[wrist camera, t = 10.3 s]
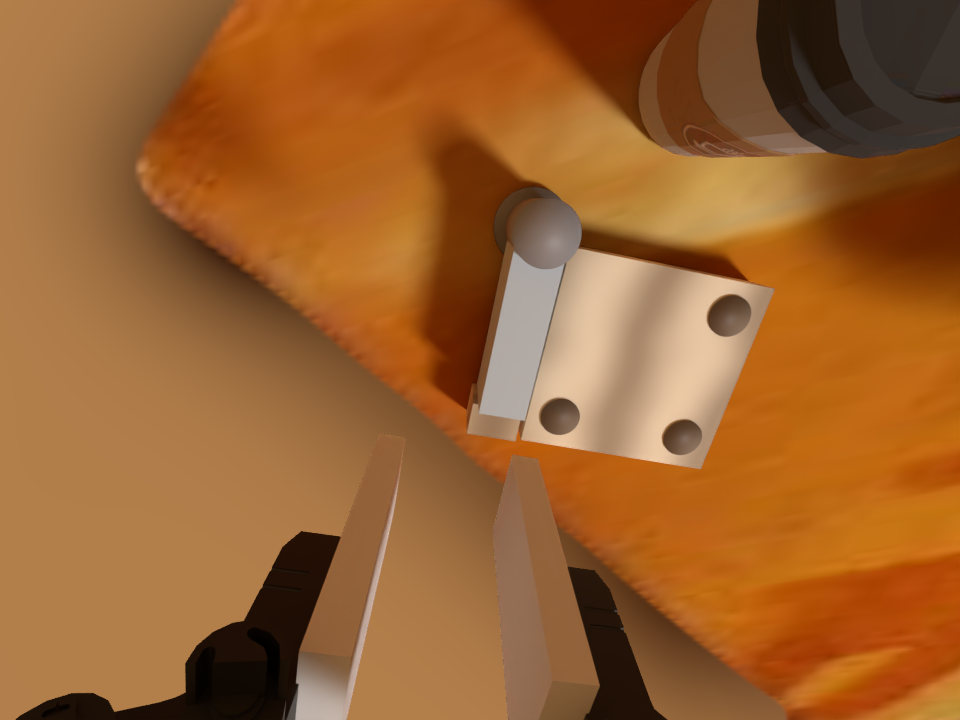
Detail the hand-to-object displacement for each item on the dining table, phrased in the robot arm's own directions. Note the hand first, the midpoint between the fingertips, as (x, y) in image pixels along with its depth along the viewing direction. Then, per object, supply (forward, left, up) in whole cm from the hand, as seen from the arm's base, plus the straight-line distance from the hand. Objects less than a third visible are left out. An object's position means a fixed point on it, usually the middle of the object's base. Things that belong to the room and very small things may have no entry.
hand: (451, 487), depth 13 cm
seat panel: (-11, 0, -17) cm, 20 cm away
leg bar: (-3, -7, -17) cm, 18 cm away
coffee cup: (-10, -15, -17) cm, 25 cm away
